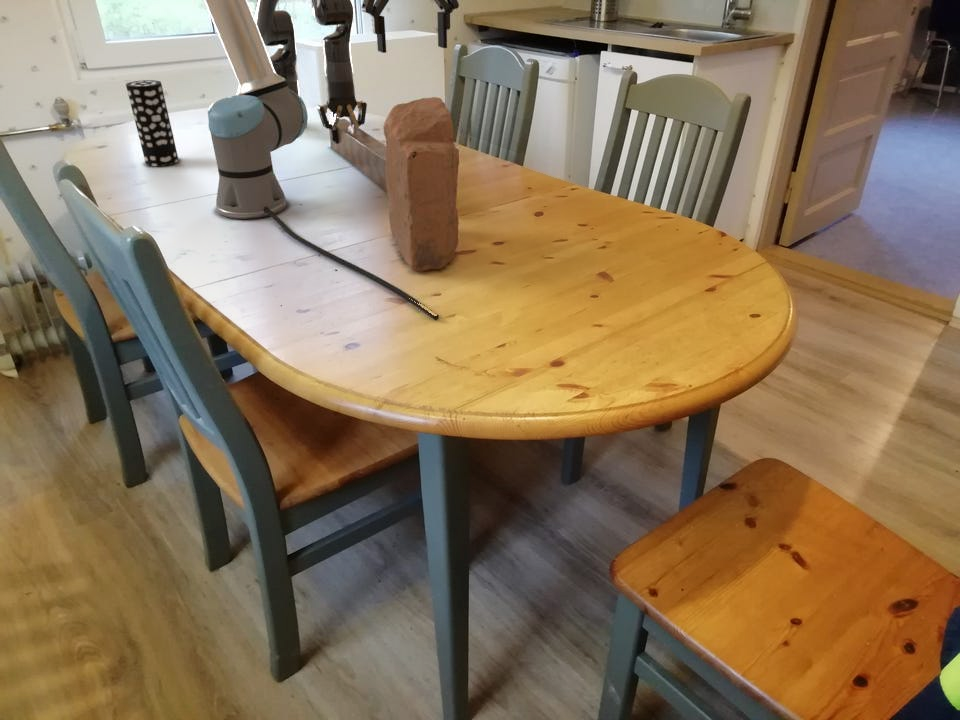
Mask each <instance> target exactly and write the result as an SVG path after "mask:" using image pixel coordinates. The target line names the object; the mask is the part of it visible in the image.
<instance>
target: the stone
mask: <svg viewBox="0 0 960 720" xmlns="http://www.w3.org/2000/svg"><path fill="white" fill-rule="evenodd" d="M383 134H384V138H385V141H386V142H385V143H386V144H385V145H386V151H385V161H386V165H385V174H386V187H387V191H386V193H387V198H388V207H387V212H388V223H389V228H390V232H391V236H392V238H393V239H394V242H395V245H396V246H397V247H398V250H399V251H400V254H401V256H402V259H403V260H404V262H405V263H406V264H407V265H408V266H409V268H410V269H411V270H412V271H413V272H425V271H428V270H440V269H442V268H444V267H446V265H447V264H448V263H450V262H451V261H452V260H454V259H455V257H456V252H457V249H458V245H459V225H460V221H459V214H458V213H459V212H458V208H457V195H458V176H459V166H460V150H459V149H458V148H457V147H456V145H455V142H454V140H455V139H454V138H455V137H454V134H455V133H454V124H453V120H452V116H451V112H450V109H449V108H448V107H446V103H445V102H444V101H443V99H442V98H440V97H437V96H432V97H422V98H420V99H414V100H411V101H409V102H406V103H403V102H402V103H398V104H396V105H394V106H393V107H392V108H391V109H390V111H389V113H388V115H387V117H386V119H385V121H384V124H383Z"/></svg>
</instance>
